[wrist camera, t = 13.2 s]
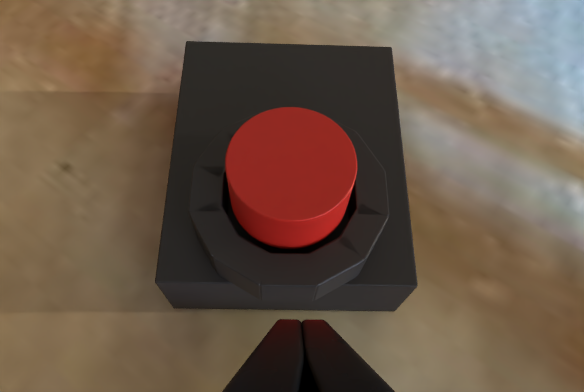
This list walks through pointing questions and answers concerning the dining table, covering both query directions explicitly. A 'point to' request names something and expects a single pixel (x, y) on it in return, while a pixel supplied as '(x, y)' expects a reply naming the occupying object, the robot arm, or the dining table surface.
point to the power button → (290, 176)
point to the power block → (216, 199)
